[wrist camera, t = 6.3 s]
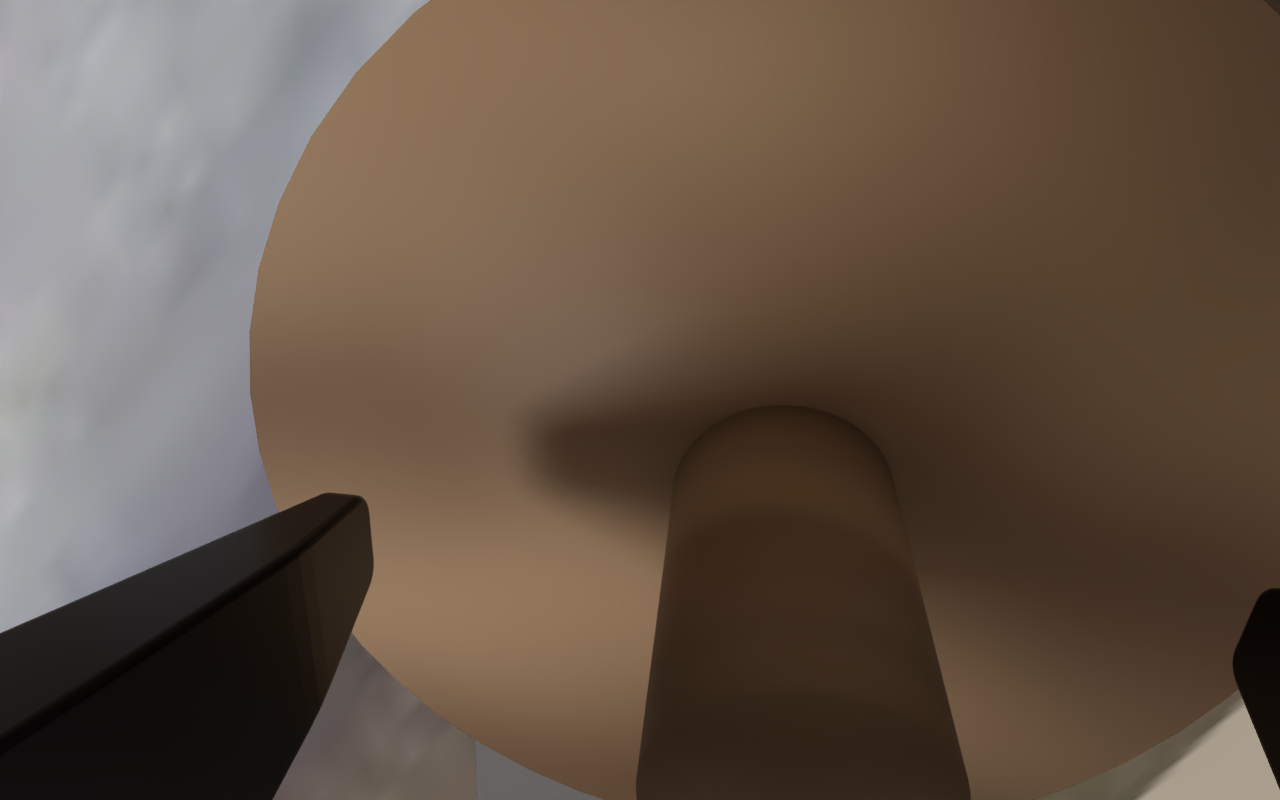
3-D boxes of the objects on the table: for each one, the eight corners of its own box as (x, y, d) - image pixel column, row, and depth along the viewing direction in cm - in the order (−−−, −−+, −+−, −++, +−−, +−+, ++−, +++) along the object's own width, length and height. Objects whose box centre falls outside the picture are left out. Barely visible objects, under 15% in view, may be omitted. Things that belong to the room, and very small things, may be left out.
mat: (853, 860, 27) (855, 871, 27) (481, 813, 28) (478, 823, 27) (926, 543, 22) (930, 551, 22) (470, 497, 23) (465, 505, 22)
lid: (1142, 831, 14) (1313, 1233, 10) (356, 740, 15) (203, 1067, 11) (1657, -118, 7) (2927, -144, 3) (168, -164, 8) (-435, -234, 4)
